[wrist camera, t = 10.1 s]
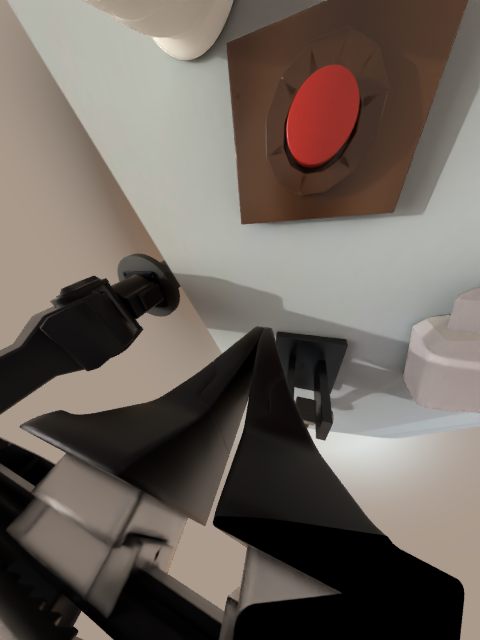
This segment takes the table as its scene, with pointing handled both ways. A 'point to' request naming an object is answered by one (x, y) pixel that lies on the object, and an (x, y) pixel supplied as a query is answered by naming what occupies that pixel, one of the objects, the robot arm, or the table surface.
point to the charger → (447, 358)
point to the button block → (374, 108)
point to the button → (322, 115)
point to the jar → (172, 22)
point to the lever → (307, 410)
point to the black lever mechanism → (312, 370)
